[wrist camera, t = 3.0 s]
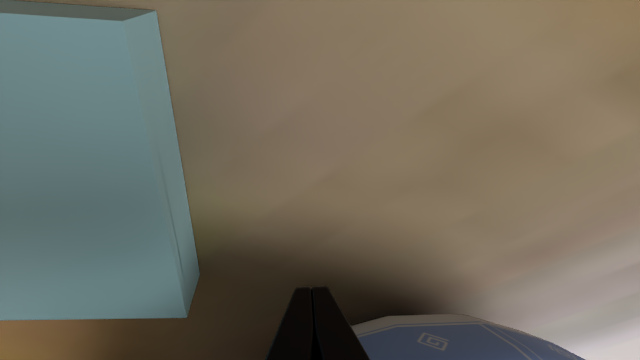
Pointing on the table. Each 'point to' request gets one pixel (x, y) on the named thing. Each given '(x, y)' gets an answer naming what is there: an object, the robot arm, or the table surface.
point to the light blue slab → (89, 168)
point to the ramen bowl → (451, 340)
